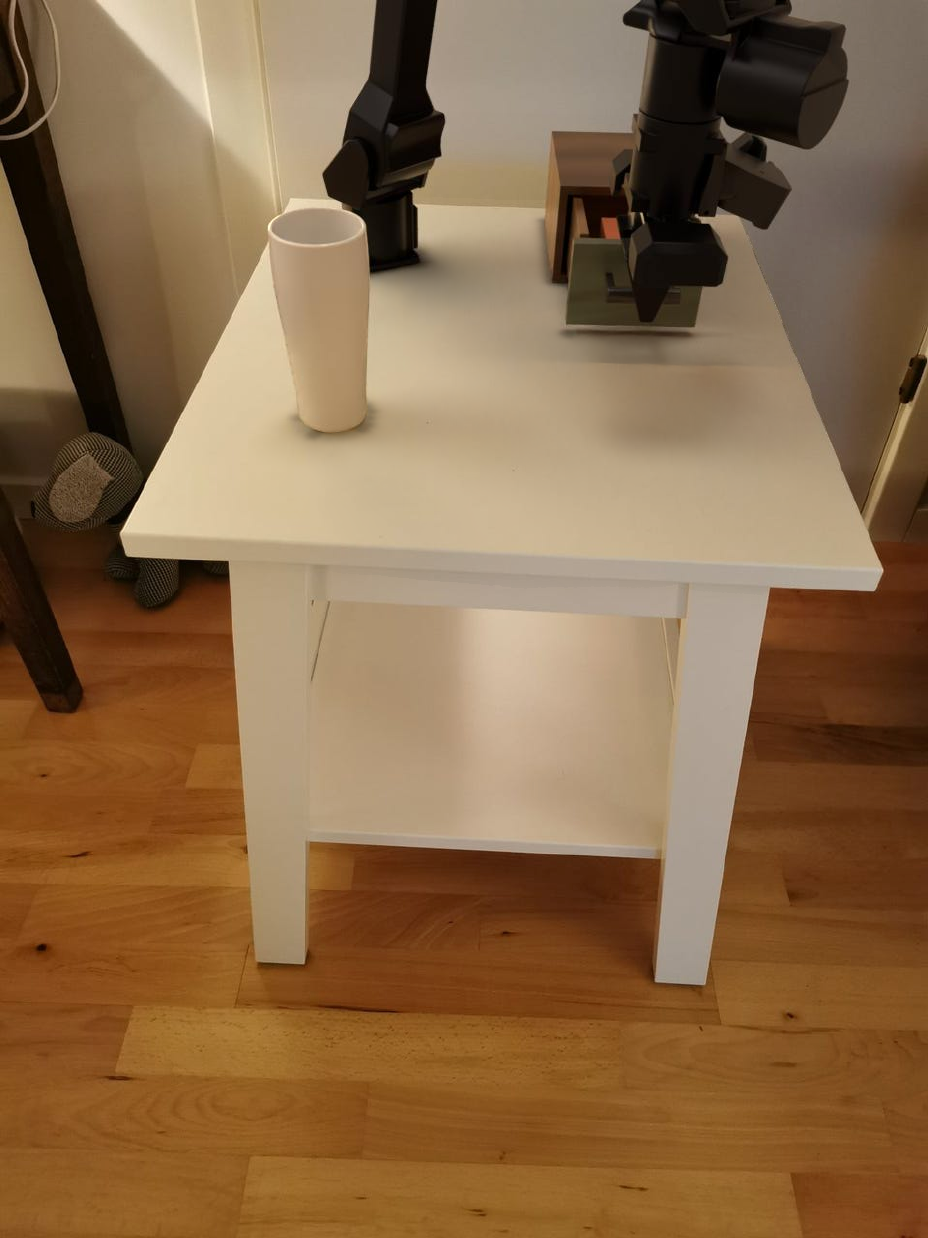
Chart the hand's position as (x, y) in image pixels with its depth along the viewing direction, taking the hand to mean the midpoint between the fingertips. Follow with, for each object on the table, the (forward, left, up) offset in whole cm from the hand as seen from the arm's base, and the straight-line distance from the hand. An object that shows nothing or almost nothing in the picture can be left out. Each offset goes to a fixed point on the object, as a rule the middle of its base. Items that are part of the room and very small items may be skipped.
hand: (645, 320), depth 78 cm
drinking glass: (-25, +4, -5) cm, 26 cm away
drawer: (+5, +10, -4) cm, 12 cm away
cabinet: (+11, +22, -5) cm, 25 cm away
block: (+6, +12, -3) cm, 13 cm away
